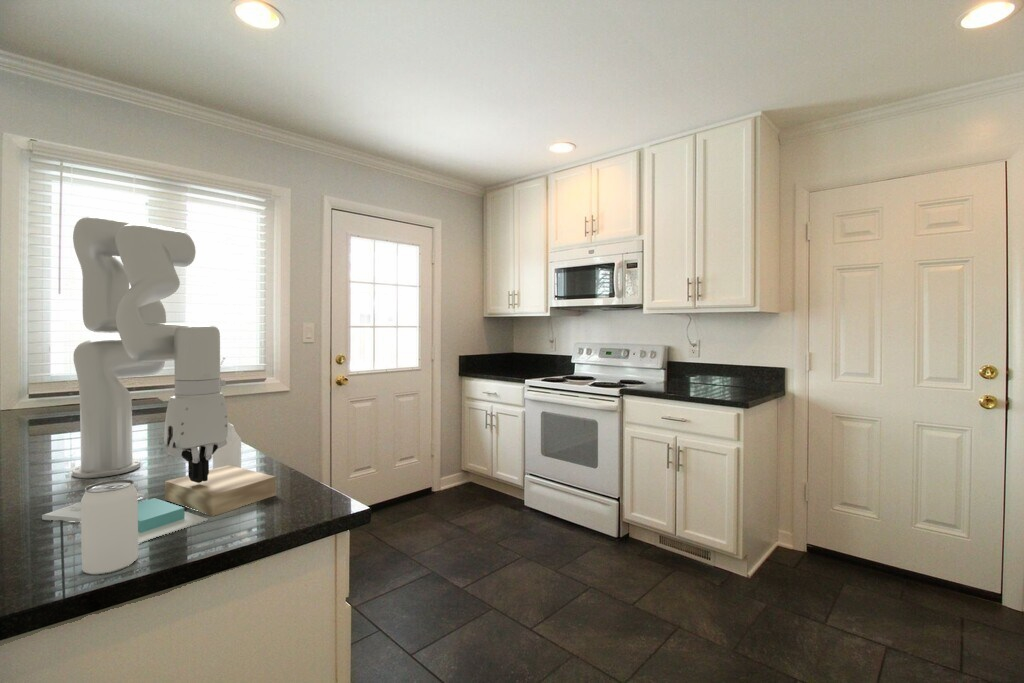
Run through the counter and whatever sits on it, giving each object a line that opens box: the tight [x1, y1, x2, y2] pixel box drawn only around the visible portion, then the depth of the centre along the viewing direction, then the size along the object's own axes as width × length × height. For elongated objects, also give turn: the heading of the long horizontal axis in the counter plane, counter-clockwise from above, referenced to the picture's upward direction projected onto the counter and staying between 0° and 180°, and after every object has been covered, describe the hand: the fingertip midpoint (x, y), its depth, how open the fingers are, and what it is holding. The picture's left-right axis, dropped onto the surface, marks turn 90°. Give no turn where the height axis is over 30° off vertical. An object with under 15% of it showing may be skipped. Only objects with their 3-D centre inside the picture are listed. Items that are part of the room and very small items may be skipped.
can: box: [80, 478, 139, 576], centre depth 72 cm, size 6×6×12 cm
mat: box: [138, 510, 209, 544], centre depth 88 cm, size 18×11×1 cm, turn 62°
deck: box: [164, 465, 276, 517], centre depth 100 cm, size 16×13×4 cm
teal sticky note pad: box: [138, 497, 185, 533], centre depth 88 cm, size 10×7×2 cm
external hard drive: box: [41, 493, 144, 522], centre depth 94 cm, size 2×8×12 cm
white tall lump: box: [212, 422, 242, 469], centre depth 116 cm, size 6×12×6 cm
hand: (198, 480), depth 96 cm, fingers closed
